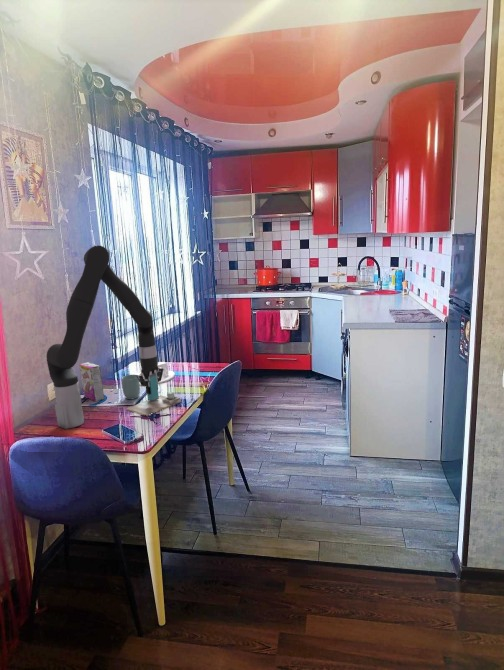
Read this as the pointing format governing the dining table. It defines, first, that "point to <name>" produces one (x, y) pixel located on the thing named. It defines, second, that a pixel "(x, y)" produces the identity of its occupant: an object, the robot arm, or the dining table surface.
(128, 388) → the cup
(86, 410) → the dining table surface
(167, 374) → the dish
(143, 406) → the clipboard
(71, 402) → the robot arm
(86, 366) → the candy bar box
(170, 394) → the button
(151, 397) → the teal rectangular block
